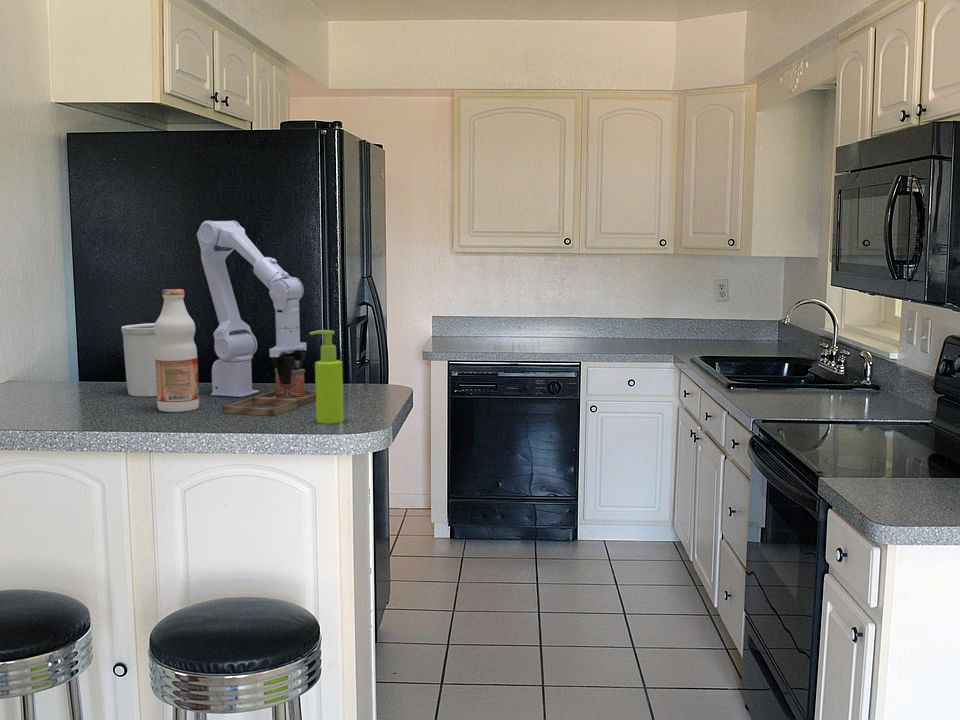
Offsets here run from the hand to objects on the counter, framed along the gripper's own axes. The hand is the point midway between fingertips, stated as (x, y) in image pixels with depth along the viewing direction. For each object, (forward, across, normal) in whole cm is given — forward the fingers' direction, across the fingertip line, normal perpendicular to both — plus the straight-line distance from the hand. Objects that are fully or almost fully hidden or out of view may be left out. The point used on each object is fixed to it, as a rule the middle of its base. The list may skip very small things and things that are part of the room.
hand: (289, 382), depth 242 cm
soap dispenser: (+5, -20, -21) cm, 30 cm away
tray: (+4, -6, 0) cm, 8 cm away
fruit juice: (+4, -18, +19) cm, 27 cm away
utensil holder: (+4, 0, +39) cm, 39 cm away
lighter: (+4, 0, 0) cm, 4 cm away
